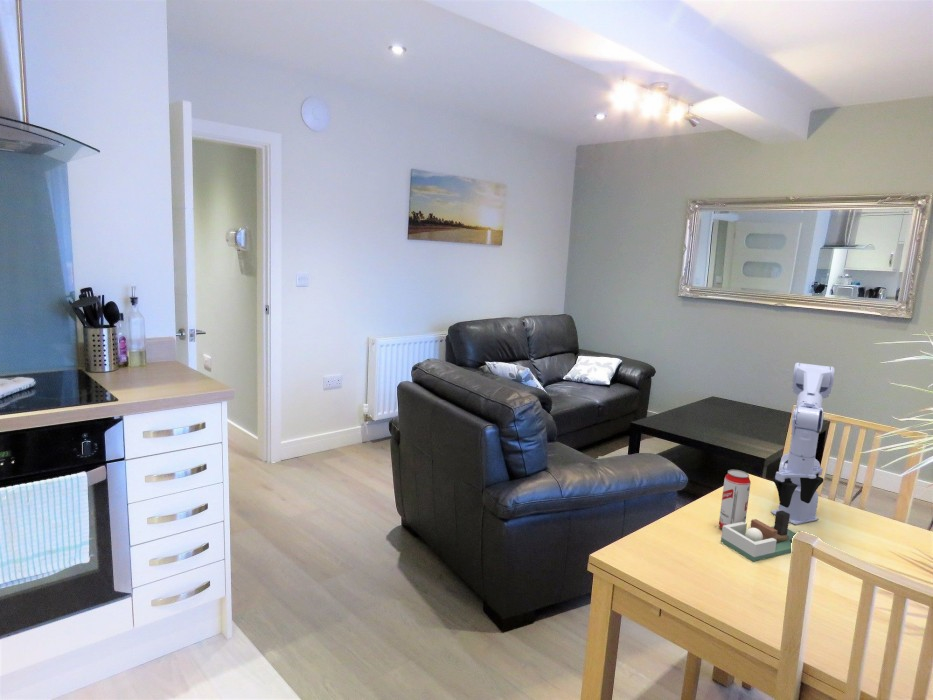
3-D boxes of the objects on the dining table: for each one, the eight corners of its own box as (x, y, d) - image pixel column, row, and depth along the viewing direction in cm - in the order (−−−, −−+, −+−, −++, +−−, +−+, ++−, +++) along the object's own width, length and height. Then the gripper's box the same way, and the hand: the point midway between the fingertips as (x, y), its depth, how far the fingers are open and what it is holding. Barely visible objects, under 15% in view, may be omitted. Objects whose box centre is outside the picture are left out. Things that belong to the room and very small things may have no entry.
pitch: (779, 528, 155) (781, 513, 154) (813, 547, 146) (816, 531, 145) (720, 541, 147) (722, 525, 146) (753, 561, 138) (755, 544, 137)
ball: (751, 521, 145) (739, 530, 144) (764, 529, 142) (753, 538, 141) (754, 533, 147) (743, 542, 146) (768, 541, 143) (756, 550, 142)
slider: (772, 529, 151) (775, 506, 150) (793, 541, 145) (797, 517, 144) (749, 534, 148) (752, 511, 147) (770, 546, 142) (774, 522, 141)
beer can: (738, 525, 156) (746, 469, 153) (747, 536, 150) (755, 478, 147) (715, 523, 157) (722, 467, 154) (722, 534, 150) (730, 477, 148)
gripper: (796, 462, 139) (788, 514, 141) (836, 456, 144) (828, 506, 147) (771, 452, 145) (764, 502, 147) (810, 446, 151) (803, 495, 153)
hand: (794, 503), depth 147 cm, fingers open, 7 cm apart
